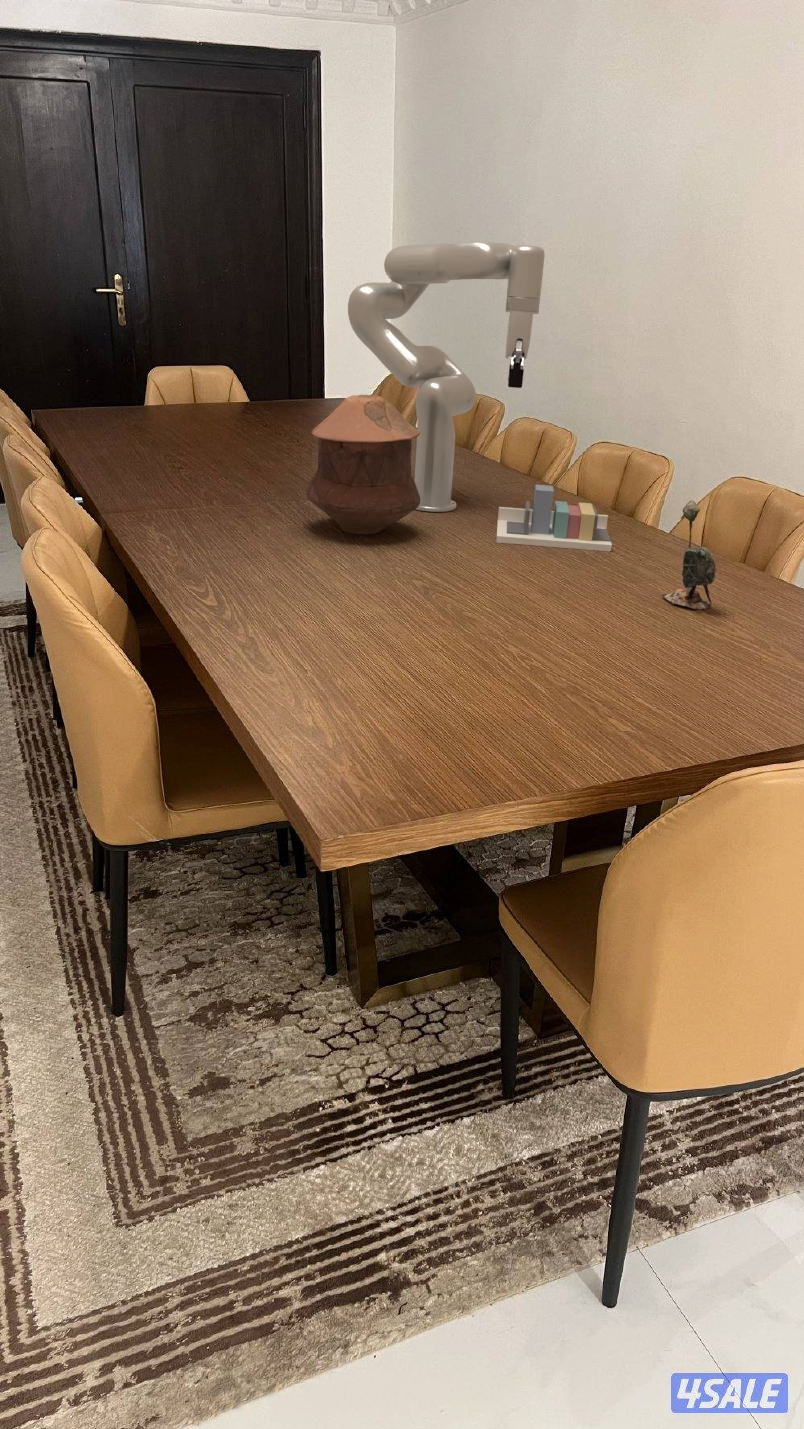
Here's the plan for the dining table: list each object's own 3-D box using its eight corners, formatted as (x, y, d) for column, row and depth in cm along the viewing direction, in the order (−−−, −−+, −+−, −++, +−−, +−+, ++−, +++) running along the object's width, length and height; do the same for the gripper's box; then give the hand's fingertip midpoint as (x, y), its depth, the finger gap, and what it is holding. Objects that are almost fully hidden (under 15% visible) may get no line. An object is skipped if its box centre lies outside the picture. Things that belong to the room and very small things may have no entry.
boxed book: (531, 533, 235) (536, 489, 231) (531, 526, 240) (535, 484, 236) (548, 534, 235) (553, 491, 231) (547, 528, 240) (552, 485, 236)
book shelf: (496, 542, 232) (499, 509, 228) (497, 525, 246) (500, 494, 243) (611, 551, 230) (615, 518, 227) (605, 533, 244) (609, 502, 241)
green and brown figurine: (683, 615, 192) (702, 510, 183) (657, 596, 201) (673, 495, 193) (722, 614, 193) (743, 510, 185) (694, 595, 203) (712, 495, 195)
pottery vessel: (435, 527, 240) (444, 396, 228) (388, 552, 219) (396, 409, 207) (339, 511, 250) (342, 384, 237) (285, 533, 229) (286, 395, 216)
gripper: (506, 302, 237) (499, 379, 244) (505, 306, 221) (498, 388, 228) (538, 304, 236) (530, 381, 244) (540, 308, 221) (531, 390, 228)
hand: (514, 384), depth 236 cm, fingers open, 9 cm apart
